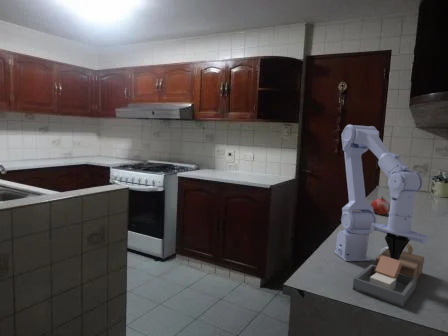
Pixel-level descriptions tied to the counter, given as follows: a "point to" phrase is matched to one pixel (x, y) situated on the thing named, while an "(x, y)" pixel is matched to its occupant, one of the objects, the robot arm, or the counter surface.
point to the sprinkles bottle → (407, 249)
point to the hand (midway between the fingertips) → (394, 261)
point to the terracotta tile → (388, 266)
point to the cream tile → (383, 280)
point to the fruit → (380, 206)
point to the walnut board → (407, 263)
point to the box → (395, 296)
